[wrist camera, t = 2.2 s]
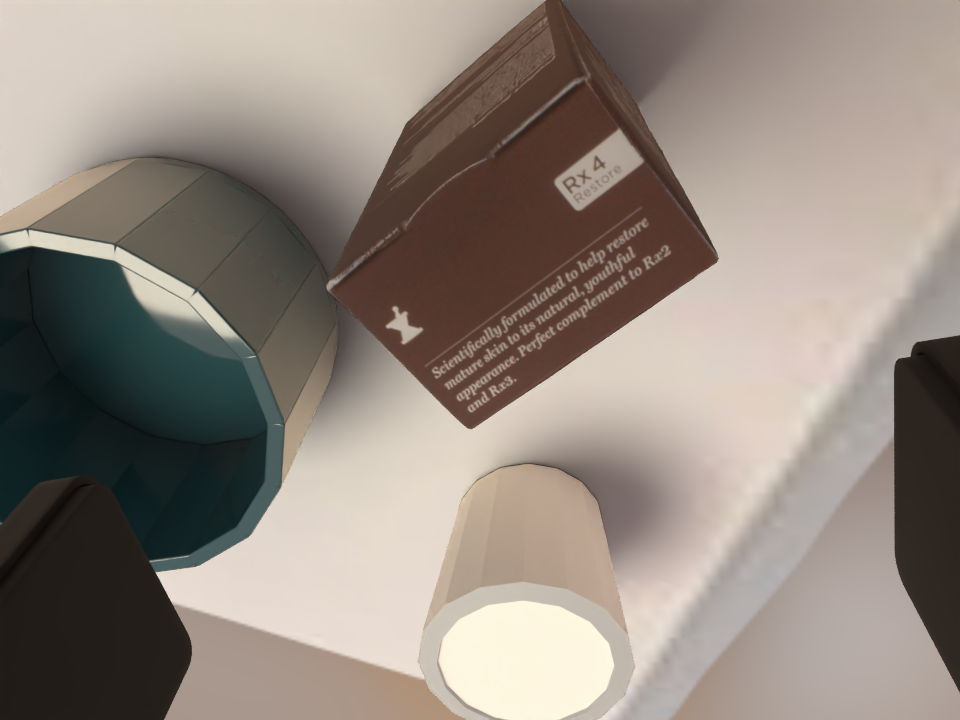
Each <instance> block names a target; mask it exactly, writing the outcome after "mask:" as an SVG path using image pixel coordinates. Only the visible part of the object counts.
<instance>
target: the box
mask: <svg viewBox="0 0 960 720" xmlns="http://www.w3.org/2000/svg"><path fill="white" fill-rule="evenodd" d="M718 259H719V258H718V255H717V252H716V250H715V248H714V246H713V244H712V242H711V240H710V238H709V236H708V234H707V232H706V230H705V229H704V227H703V225H702V223H701V221H700V219H699V217H698V215H697V214H696V212H695V210H694V208H693V206H692V204H691V203H690V201H689V199H688V197H687V196H686V194H685V192H684V190H683V188H682V186H681V185H680V183H679V181H678V180H677V178H676V176H675V175H674V173H673V171H672V169H671V168H670V166H669V164H668V162H667V160H666V158H665V156H664V154H663V152H662V150H661V149H660V147H659V146H658V144H657V142H656V140H655V139H654V137H653V135H652V134H651V132H650V130H649V128H648V127H647V125H646V122H645V120H644V118H643V117H642V114H641V112H640V110H639V108H638V107H637V105H636V103H635V102H634V100H633V99H632V98H631V96H630V95H629V93H628V92H627V91H626V89H625V88H624V87H623V85H622V84H621V82H620V81H619V80H618V78H617V77H616V76H615V74H614V73H613V71H612V70H611V69H610V67H609V66H608V65H607V64H606V62H605V61H604V59H603V58H602V57H601V55H600V54H599V52H598V51H597V50H596V48H595V47H594V46H593V44H592V43H591V42H590V40H589V39H588V38H587V36H586V35H585V34H584V32H583V31H582V29H581V28H580V27H579V25H578V24H577V23H576V21H575V20H574V18H573V17H572V16H571V14H570V13H569V11H568V10H567V8H566V7H565V6H564V4H563V3H562V1H561V0H547V1H545V2H544V3H543V4H542V5H541V6H539V7H538V8H537V9H536V10H534V11H533V12H532V13H531V14H530V15H529V16H527V17H526V18H525V19H524V20H523V21H521V22H520V23H519V24H518V25H517V26H516V27H514V28H513V29H512V30H511V31H510V32H509V33H507V34H506V35H505V36H504V37H503V38H502V39H501V40H499V41H498V42H497V43H496V44H495V45H494V46H493V47H491V48H490V49H489V50H488V51H487V52H486V53H484V54H483V55H482V56H481V57H480V58H478V59H477V60H476V61H475V62H474V63H473V64H472V65H471V66H470V67H468V68H467V69H466V70H465V71H464V72H463V73H461V74H460V75H459V76H458V77H457V78H456V79H455V80H454V81H452V82H451V83H450V84H449V85H448V86H447V87H446V88H445V89H443V90H442V91H441V92H440V93H439V94H438V95H437V96H436V97H435V98H433V99H432V100H431V101H430V102H429V103H428V104H427V105H426V106H424V107H423V108H422V109H421V110H420V111H419V112H418V113H417V114H416V115H415V116H414V117H413V118H412V119H410V120H409V121H408V122H407V123H406V125H405V127H404V129H403V131H402V133H401V135H400V137H399V139H398V141H397V143H396V145H395V147H394V149H393V151H392V153H391V156H390V157H389V159H388V162H387V164H386V166H385V168H384V170H383V172H382V174H381V176H380V178H379V180H378V182H377V184H376V186H375V188H374V190H373V192H372V194H371V196H370V198H369V200H368V202H367V204H366V206H365V208H364V210H363V213H362V214H361V216H360V218H359V221H358V223H357V224H356V226H355V228H354V230H353V232H352V234H351V236H350V239H349V241H348V243H347V245H346V246H345V248H344V250H343V253H342V255H341V258H340V260H339V262H338V264H337V265H336V267H335V269H334V271H333V273H332V275H331V278H330V280H329V282H328V284H327V288H326V289H327V290H328V292H329V293H330V294H332V295H333V296H334V297H335V298H336V299H337V300H338V301H339V302H340V303H341V304H342V305H343V306H345V307H346V308H347V309H348V310H349V311H350V312H351V313H352V314H353V315H354V316H355V317H356V318H357V319H358V320H359V321H360V322H361V323H362V324H363V325H364V326H365V327H366V328H367V329H368V330H369V331H370V332H371V333H372V334H373V335H374V336H375V337H376V338H377V339H378V340H379V341H380V342H381V343H382V344H383V345H384V346H385V347H386V348H387V349H388V350H389V351H390V352H391V353H392V354H393V355H394V356H395V357H396V358H397V359H398V360H399V361H400V362H401V363H402V364H403V365H404V366H405V367H406V368H407V370H408V371H409V372H410V373H411V374H413V375H414V376H415V377H416V378H417V379H418V381H419V382H420V383H421V384H422V385H423V386H424V387H425V388H426V389H427V390H428V391H429V392H430V393H431V394H432V395H433V396H434V397H435V398H436V399H437V400H438V401H439V402H440V403H441V404H442V405H443V406H444V407H445V408H446V409H447V410H448V411H449V412H450V413H451V414H452V415H453V416H454V417H455V418H456V419H457V420H459V421H460V422H461V423H462V424H463V425H464V426H466V427H467V428H468V429H473V428H475V427H476V426H477V425H479V424H480V423H482V422H483V421H485V420H486V419H488V418H489V417H491V416H492V415H494V414H495V413H496V412H498V411H499V410H501V409H502V408H504V407H505V406H507V405H508V404H510V403H511V402H513V401H514V400H516V399H518V398H519V397H521V396H522V395H524V394H525V393H526V392H528V391H529V390H531V389H532V388H534V387H536V386H537V385H539V384H540V383H542V382H543V381H545V380H546V379H548V378H549V377H551V376H552V375H554V374H555V373H557V372H558V371H559V370H561V369H562V368H564V367H565V366H567V365H568V364H569V363H571V362H572V361H574V360H575V359H576V358H578V357H579V356H581V355H582V354H583V353H585V352H586V351H588V350H589V349H591V348H592V347H594V346H595V345H597V344H598V343H600V342H601V341H603V340H604V339H606V338H607V337H609V336H610V335H612V334H613V333H614V332H616V331H617V330H619V329H620V328H622V327H623V326H624V325H626V324H627V323H629V322H630V321H632V320H633V319H635V318H636V317H638V316H639V315H641V314H642V313H644V312H645V311H647V310H648V309H650V308H651V307H653V306H654V305H655V304H657V303H658V302H659V301H661V300H662V299H664V298H665V297H667V296H668V295H669V294H671V293H672V292H674V291H675V290H677V289H678V288H680V287H681V286H683V285H684V284H686V283H687V282H689V281H690V280H692V279H693V278H694V277H696V276H697V275H698V274H700V273H701V272H703V271H704V270H706V269H708V268H709V267H711V266H712V265H714V264H715V263H717V261H718Z"/></svg>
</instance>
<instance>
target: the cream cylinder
mask: <svg viewBox="0 0 960 720" xmlns="http://www.w3.org/2000/svg"><path fill="white" fill-rule="evenodd" d="M418 662H419V665H420V668H421V670H422V673H423V675H424V678H425V681H426V683H427V686H428V688H429V690H430V691H431V692H432V693H433V694H434V695H435V696H436V697H437V698H438V699H439V700H440V701H441V702H442V703H444V705H445V706H447V707H448V708H449V709H450V710H451V711H452V712H453V713H454V714H456V715H459V716H460V717H463V718H465V719H467V720H597V719H599V718H601V717H602V716H603V715H604V714H605V713H606V712H607V711H609V710H610V709H611V708H612V707H613V706H614V705H615V704H616V703H617V702H618V701H619V700H620V699H621V698H622V697H623V696H625V694H626V691H627V688H628V685H629V682H630V679H631V677H632V674H633V671H634V668H635V664H634V659H633V655H632V650H631V645H630V641H629V636H628V632H627V628H626V623H625V619H624V615H623V610H622V606H621V601H620V597H619V593H618V588H617V584H616V580H615V575H614V571H613V567H612V562H611V558H610V554H609V549H608V545H607V540H606V536H605V532H604V527H603V523H602V519H601V514H600V510H599V506H598V502H597V500H596V499H595V498H594V497H593V495H592V494H591V493H590V492H589V490H588V489H587V488H586V487H585V485H584V484H583V483H582V482H581V481H579V480H577V479H575V478H574V477H572V476H570V475H568V474H566V473H564V472H563V471H561V470H559V469H557V468H551V467H545V466H539V465H533V464H523V465H517V466H510V467H504V468H499V469H497V470H495V471H494V472H492V473H490V474H488V475H486V476H485V477H483V478H481V479H479V480H477V481H476V482H475V483H474V484H473V486H472V487H471V488H470V490H469V491H468V492H467V494H466V495H465V496H464V497H463V499H462V500H461V503H460V506H459V510H458V513H457V517H456V520H455V523H454V527H453V530H452V534H451V537H450V541H449V544H448V547H447V551H446V554H445V558H444V561H443V564H442V568H441V571H440V575H439V578H438V581H437V585H436V588H435V592H434V595H433V598H432V602H431V605H430V609H429V612H428V615H427V619H426V622H425V626H424V629H423V633H422V639H421V645H420V651H419V657H418Z"/></svg>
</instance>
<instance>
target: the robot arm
mask: <svg viewBox="0 0 960 720" xmlns="http://www.w3.org/2000/svg"><path fill="white" fill-rule="evenodd" d="M894 447H895V448H894V451H895V452H894V455H895V456H894V460H895V461H894V463H895V465H894V469H895V470H894V472H895V474H894V476H895V480H894V482H895V483H894V484H895V558H896V564H897V568H898V571H899V575H900V577H901V580H902V582H903V585H904V587H905V589H906V591H907V593H908V595H909V597H910V599H911V600H912V602H913V604H914V606H915V608H916V610H917V612H918V614H919V616H920V618H921V619H922V621H923V623H924V625H925V627H926V629H927V631H928V633H929V635H930V637H931V639H932V640H933V642H934V644H935V646H936V648H937V650H938V652H939V654H940V656H941V657H942V660H943V661H944V663H945V665H946V667H947V669H948V671H949V673H950V675H951V676H952V679H953V680H954V682H955V684H956V686H957V688H958V690H959V691H960V335H959V336H953V337H947V338H940V339H934V340H928V341H922V342H917V343H916V344H915V345H914V346H913V348H912V352H911V357H907V358H900V359H898V360H897V361H896V364H895V369H894ZM191 656H192V646H191V640H190V638H189V635H188V633H187V631H186V629H185V627H184V625H183V623H182V622H181V620H180V618H179V616H178V614H177V612H176V610H175V609H174V606H173V605H172V603H171V601H170V599H169V597H168V595H167V593H166V591H165V590H164V588H163V586H162V584H161V582H160V580H159V578H158V576H157V575H156V573H155V571H154V569H153V567H152V565H151V563H150V561H149V559H148V558H147V556H146V554H145V552H144V550H143V548H142V546H141V544H140V543H139V541H138V539H137V537H136V535H135V533H134V531H133V529H132V528H131V526H130V524H129V522H128V520H127V518H126V516H125V514H124V512H123V511H122V509H121V507H120V505H119V503H118V501H117V499H116V497H115V496H114V494H113V492H112V491H111V490H110V488H108V487H107V486H106V485H102V484H99V482H98V481H97V480H95V479H94V478H93V477H91V476H87V475H81V476H75V477H69V478H62V479H56V480H50V481H45V482H41V483H39V484H38V485H36V486H35V487H34V488H33V489H32V490H31V491H30V492H29V493H28V495H27V496H26V497H25V498H24V499H23V500H22V501H21V502H20V504H19V505H18V506H17V507H16V508H15V509H14V510H13V512H12V513H11V514H10V515H9V516H8V517H7V518H6V519H5V521H4V522H3V523H2V524H1V525H0V720H164V718H165V716H166V714H167V712H168V710H169V708H170V705H171V704H172V701H173V699H174V697H175V695H176V693H177V691H178V689H179V687H180V684H181V682H182V680H183V678H184V676H185V674H186V672H187V670H188V667H189V665H190V662H191Z"/></svg>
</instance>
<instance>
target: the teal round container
mask: <svg viewBox="0 0 960 720" xmlns="http://www.w3.org/2000/svg"><path fill="white" fill-rule="evenodd" d="M328 282H329V280H328V278H327V276H326V273H325V271H324V268H323V266H322V264H321V263H320V261H319V259H318V257H317V256H316V254H315V252H314V250H313V249H312V247H311V246H310V244H309V243H308V242H307V240H306V239H305V237H304V236H303V235H302V233H301V232H300V231H299V229H298V228H297V227H296V226H295V225H294V224H293V223H292V222H291V221H290V220H289V219H288V218H287V217H286V216H285V214H284V213H283V212H281V211H280V210H279V209H278V208H277V207H275V206H274V205H273V204H272V203H271V202H270V201H268V200H267V199H266V198H265V197H263V196H262V195H260V194H259V193H257V192H256V191H254V190H253V189H251V188H250V187H248V186H247V185H245V184H243V183H241V182H239V181H237V180H235V179H234V178H232V177H230V176H228V175H226V174H223V173H221V172H218V171H215V170H213V169H210V168H208V167H205V166H202V165H198V164H194V163H190V162H186V161H182V160H175V159H166V158H132V159H125V160H119V161H114V162H110V163H107V164H104V165H101V166H98V167H95V168H93V169H91V170H88V171H83V172H79V173H76V174H74V175H72V176H70V177H68V178H67V179H65V180H63V181H61V182H60V183H58V184H56V185H54V186H53V187H51V188H49V189H47V190H46V191H44V192H42V193H40V194H39V195H37V196H35V197H33V198H32V199H30V200H28V201H26V202H24V203H23V204H21V205H19V206H17V207H16V208H14V209H12V210H10V211H9V212H7V213H5V214H3V215H2V216H0V525H1V524H2V523H3V522H4V521H5V519H6V518H7V517H8V516H9V515H10V514H11V513H12V512H13V510H14V509H15V508H16V507H17V506H18V505H19V504H20V502H21V501H22V500H23V499H24V498H25V497H26V496H27V495H28V493H29V492H30V491H31V490H32V489H33V488H34V487H35V486H36V485H38V484H39V483H41V482H45V481H50V480H56V479H62V478H69V477H75V476H81V475H87V476H91V477H93V478H94V479H95V480H97V481H98V482H99V484H102V485H106V486H107V487H108V488H110V490H111V491H112V492H113V494H114V496H115V497H116V499H117V501H118V503H119V505H120V507H121V509H122V511H123V512H124V514H125V516H126V518H127V520H128V522H129V524H130V526H131V528H132V529H133V531H134V533H135V535H136V537H137V539H138V541H139V543H140V544H141V546H142V548H143V550H144V552H145V554H146V556H147V558H148V559H149V561H150V563H151V565H152V567H153V569H154V571H155V572H161V571H168V570H176V569H183V568H190V567H196V566H199V565H201V564H203V563H204V562H206V561H208V560H210V559H211V558H213V557H215V556H217V555H218V554H220V553H222V552H223V551H225V550H227V549H229V548H230V547H232V546H234V545H236V544H237V543H239V542H241V541H243V540H244V539H246V538H248V537H249V536H250V535H251V534H252V533H253V531H254V529H255V528H256V526H257V525H258V523H259V522H260V520H261V518H262V517H263V515H264V514H265V512H266V511H267V509H268V507H269V506H270V504H271V503H272V501H273V500H274V498H275V497H276V495H277V493H278V492H279V490H280V489H281V487H282V484H283V482H284V480H285V478H286V476H287V474H288V471H289V469H290V467H291V465H292V463H293V460H294V458H295V456H296V454H297V452H298V449H299V447H300V445H301V443H302V441H303V439H304V436H305V434H306V432H307V430H308V428H309V425H310V423H311V421H312V419H313V417H314V414H315V412H316V410H317V408H318V406H319V404H320V401H321V399H322V397H323V395H324V393H325V390H326V388H327V386H328V384H329V382H330V379H331V377H332V368H333V364H334V361H335V357H336V351H337V345H338V318H337V310H336V304H335V300H334V296H333V295H332V294H330V293H329V292H328V290H327V289H326V288H327V284H328Z"/></svg>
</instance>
